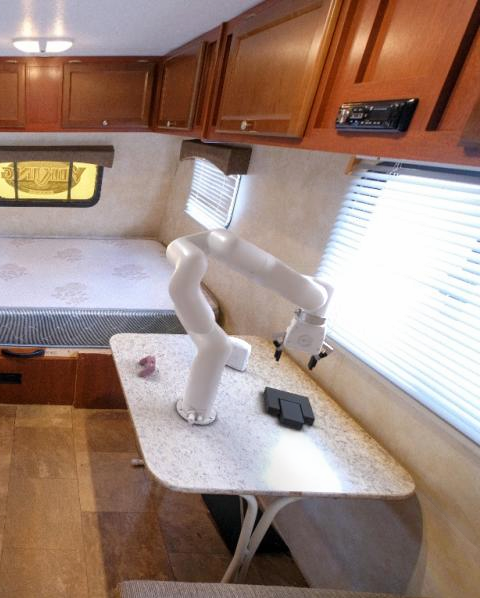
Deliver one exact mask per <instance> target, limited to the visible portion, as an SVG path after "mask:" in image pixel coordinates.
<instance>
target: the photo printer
mask: <svg viewBox="0 0 480 598" xmlns="http://www.w3.org/2000/svg"><path fill="white" fill-rule="evenodd" d="M228 337H229V338H230V340H231V342H232V353H231V355H230V357H229V359H228V360H227V362H226V364H225V366H228V367H230V368H232V369H235V370H237V371H239V372H244V371H245V370H246V366H247V363H248V361H249V357H250V354H251V351H252V345H250V343H248V342H246V341H245V340H243V339H240V338H237V337H233V336H228Z"/></svg>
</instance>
